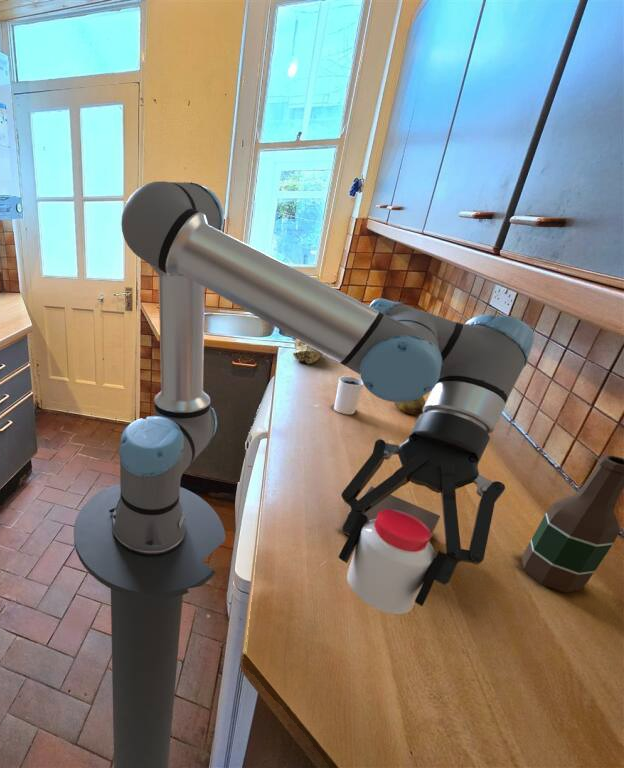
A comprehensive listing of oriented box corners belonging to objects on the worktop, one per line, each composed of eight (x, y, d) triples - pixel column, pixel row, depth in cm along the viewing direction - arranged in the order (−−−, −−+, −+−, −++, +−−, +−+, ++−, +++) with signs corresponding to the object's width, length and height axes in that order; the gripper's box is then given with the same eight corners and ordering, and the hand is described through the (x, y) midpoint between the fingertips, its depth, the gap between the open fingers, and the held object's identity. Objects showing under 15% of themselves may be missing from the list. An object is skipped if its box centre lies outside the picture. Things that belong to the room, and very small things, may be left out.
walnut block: (342, 532, 80) (348, 513, 78) (365, 504, 87) (370, 486, 85) (414, 570, 72) (422, 549, 70) (432, 535, 79) (440, 515, 77)
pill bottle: (334, 568, 57) (352, 507, 52) (382, 560, 58) (405, 499, 53) (375, 619, 50) (401, 554, 45) (429, 609, 51) (460, 544, 46)
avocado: (392, 414, 123) (400, 391, 120) (383, 397, 134) (390, 374, 130) (425, 419, 120) (433, 395, 117) (413, 401, 131) (420, 378, 128)
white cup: (330, 403, 130) (337, 375, 126) (354, 406, 128) (361, 377, 124) (333, 413, 124) (341, 383, 120) (358, 416, 122) (366, 386, 118)
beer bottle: (588, 581, 69) (667, 465, 59) (572, 602, 66) (652, 483, 56) (528, 550, 75) (590, 441, 65) (511, 568, 72) (573, 455, 62)
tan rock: (317, 369, 159) (331, 346, 171) (316, 351, 156) (331, 329, 168) (283, 367, 168) (299, 345, 180) (281, 350, 165) (298, 329, 177)
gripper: (558, 467, 49) (481, 641, 46) (370, 408, 63) (302, 538, 60) (575, 446, 43) (490, 642, 40) (366, 387, 58) (291, 529, 55)
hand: (378, 580), depth 50 cm, fingers closed on pill bottle, 8 cm apart
